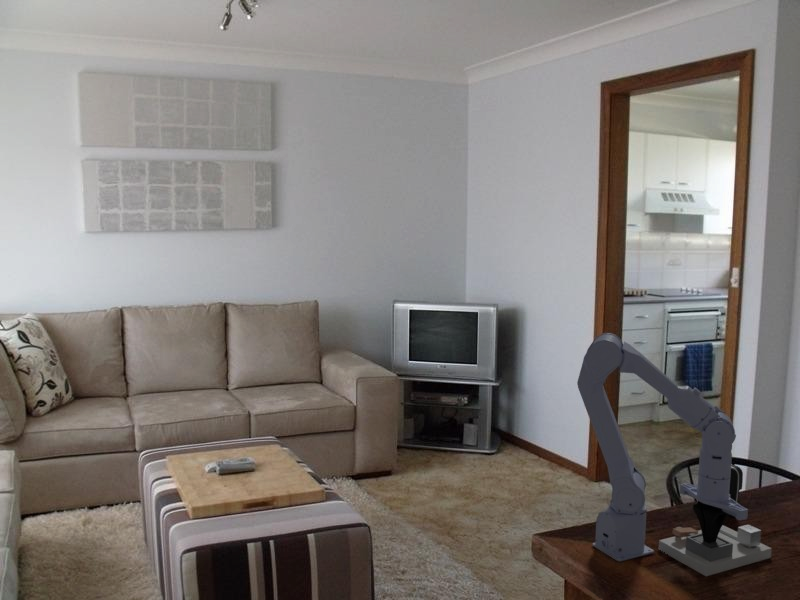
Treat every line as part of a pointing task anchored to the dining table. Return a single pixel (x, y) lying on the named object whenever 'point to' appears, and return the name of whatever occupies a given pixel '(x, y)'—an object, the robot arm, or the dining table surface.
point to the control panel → (713, 552)
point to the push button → (710, 545)
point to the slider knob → (749, 535)
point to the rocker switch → (684, 531)
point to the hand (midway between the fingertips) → (709, 541)
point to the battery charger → (735, 483)
